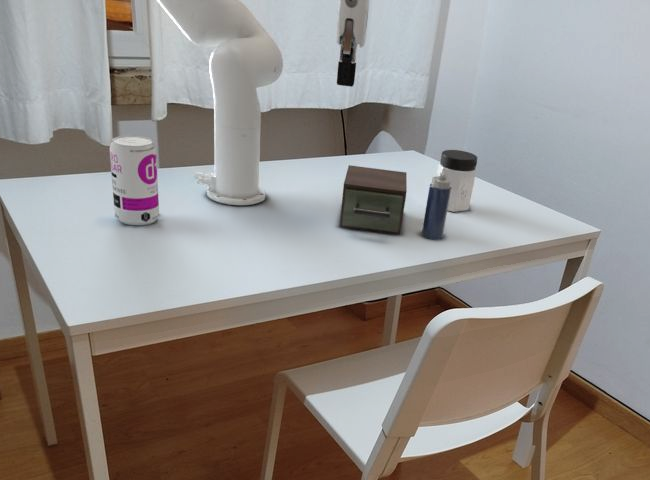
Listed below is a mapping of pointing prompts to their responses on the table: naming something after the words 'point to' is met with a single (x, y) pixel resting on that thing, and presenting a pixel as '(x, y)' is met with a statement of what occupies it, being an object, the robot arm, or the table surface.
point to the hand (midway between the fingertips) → (345, 84)
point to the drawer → (372, 210)
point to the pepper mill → (437, 207)
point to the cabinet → (375, 187)
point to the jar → (459, 177)
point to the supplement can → (134, 180)
